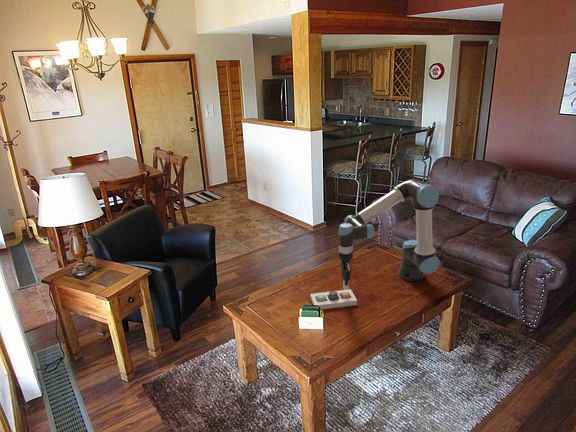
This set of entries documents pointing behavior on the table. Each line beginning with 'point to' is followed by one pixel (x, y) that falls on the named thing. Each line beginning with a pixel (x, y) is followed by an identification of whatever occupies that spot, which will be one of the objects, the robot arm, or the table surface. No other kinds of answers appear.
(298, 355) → the table surface
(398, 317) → the table surface
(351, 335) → the table surface
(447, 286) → the table surface
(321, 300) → the button sage
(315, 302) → the board
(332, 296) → the button charcoal
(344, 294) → the button terracotta
